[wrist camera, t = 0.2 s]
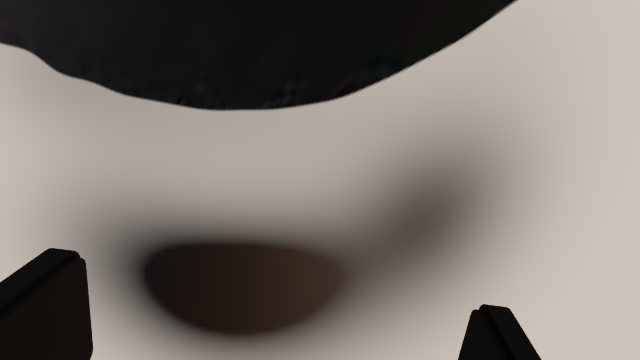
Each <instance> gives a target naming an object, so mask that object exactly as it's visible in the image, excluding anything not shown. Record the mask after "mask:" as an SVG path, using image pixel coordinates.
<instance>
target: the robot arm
mask: <svg viewBox="0 0 640 360" xmlns="http://www.w3.org/2000/svg"><path fill="white" fill-rule="evenodd" d="M92 352H93V342H92V330H91V318H90V307H89V295H88V283H87V271H86V263H85V260H84V259H82V258H80V255H79V254H78V252H76V251H71V250H63V249H55V248H50V249H48V250H46V251H44V252H43V253H41V254H40V255H39V256H37V257H36V258H34V259H33V260H31V261H30V262H29V263H27V264H26V265H24V266H23V267H22V268H20V269H19V270H17V271H16V272H14V273H13V274H12V275H10V276H9V277H7V278H6V279H5V280H3V281H2V282H0V360H90V358H91V356H92ZM458 360H541V358H540V357H539V355H538V354H537V352H536V350H535V349H534V347H533V346H532V344H531V342H530V341H529V339H528V337H527V336H526V334H525V333H524V331H523V329H522V328H521V326H520V325H519V323H518V321H517V320H516V318H515V317H514V315H513V313H512V312H511V310H510V309H509V308H507V307H501V306H493V305H485V304H483V305H481V306H480V308H479V310H473V311H472V313H471V315H470V319H469V322H468V326H467V329H466V333H465V337H464V340H463V344H462V347H461V351H460V354H459V358H458Z"/></svg>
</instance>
